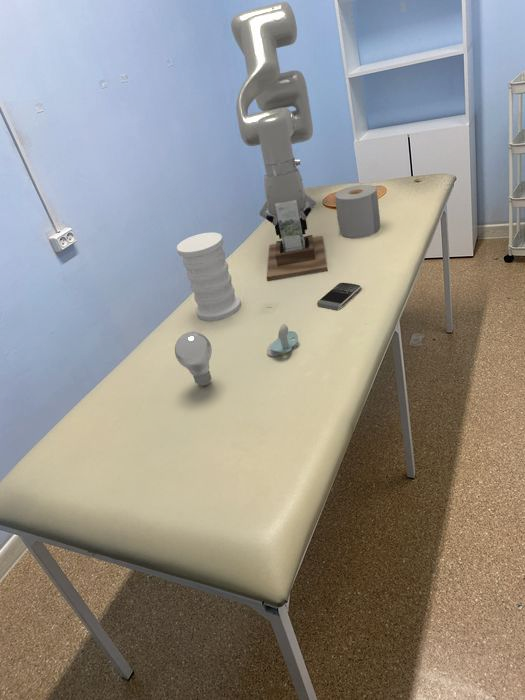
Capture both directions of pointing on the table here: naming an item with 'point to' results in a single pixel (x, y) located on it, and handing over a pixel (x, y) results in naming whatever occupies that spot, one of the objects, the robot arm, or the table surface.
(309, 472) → the table surface
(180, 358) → the light bulb
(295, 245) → the syrup box
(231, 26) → the robot arm
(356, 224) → the toilet paper roll
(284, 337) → the pacifier
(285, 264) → the stand
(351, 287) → the cell phone
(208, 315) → the decorative container
